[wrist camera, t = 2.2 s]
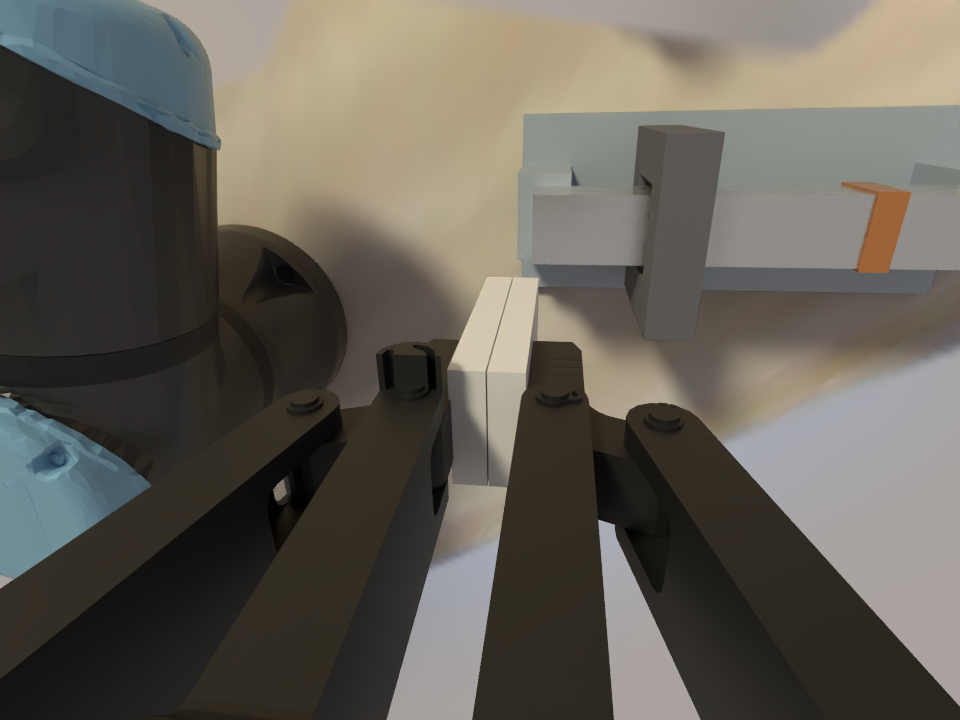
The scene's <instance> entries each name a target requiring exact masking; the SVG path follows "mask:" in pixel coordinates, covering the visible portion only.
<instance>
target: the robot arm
mask: <svg viewBox="0 0 960 720" xmlns="http://www.w3.org/2000/svg"><path fill="white" fill-rule="evenodd" d="M220 147H221V140H220V139H219V137H218V136H217V135H216V127H215V113H214V100H213V87H212V73H211V66H210V61H209V58H208V55H207V53H206V50H205V49H204V47H203V45H202V43H201V42H200V40H199V39H198V38H197V36H196V35H195V34H194V33H193V32H192V31H191V30H190V29H189V28H188V27H187V26H186V25H185V24H183V23H182V22H181V21H179V20H178V19H177V18H175V17H173V16H172V15H170V14H168V13H166V12H164V11H162V10H159V9H157V8H155V7H152V6H150V5H147V4H145V3H143V2H140V1H138V0H0V575H2V576H5V577H8V578H12V579H14V580H13V581H11V582H9V583H8V584H7V585H5V586H4V587H2V588H1V589H0V720H386V719H387V716H388V712H389V709H390V705H391V701H392V698H393V694H394V691H395V687H396V684H397V680H398V677H399V673H400V669H401V666H402V662H403V658H404V655H405V652H406V648H407V644H408V641H409V637H410V633H411V630H412V626H413V623H414V619H415V616H416V612H417V609H418V605H419V601H420V598H421V595H422V591H423V587H424V584H425V580H426V577H427V573H428V570H429V566H430V562H431V559H432V555H433V552H434V548H435V545H436V541H437V538H438V534H439V530H440V527H441V523H442V520H443V516H444V513H445V509H446V505H447V502H448V498H449V496H448V475H449V472H450V469H451V465H452V481H453V484H468V485H483V486H487V485H488V480H489V486H498V487H507V494H506V500H505V507H504V514H503V520H502V527H501V533H500V540H499V547H498V554H497V561H496V567H495V573H494V580H493V587H492V593H491V600H490V606H489V613H488V619H487V626H486V633H485V639H484V646H483V652H482V660H481V666H480V672H479V679H478V686H477V692H476V699H475V705H474V712H473V718H472V720H614V715H613V704H612V690H611V678H610V665H609V652H608V640H607V627H606V615H605V601H604V588H603V576H602V564H601V550H600V538H599V526H598V520H601V521H605V522H608V523H611V524H614V525H615V532H616V537H617V540H618V542H619V544H620V546H621V548H622V550H623V552H624V555H625V557H626V559H627V561H628V563H629V566H630V567H631V570H632V572H633V574H634V576H635V578H636V581H637V583H638V585H639V587H640V589H641V591H642V594H643V596H644V598H645V600H646V602H647V604H648V607H649V609H650V611H651V613H652V615H653V617H654V619H655V622H656V624H657V626H658V628H659V630H660V632H661V635H662V637H663V639H664V641H665V643H666V645H667V648H668V650H669V652H670V654H671V656H672V658H673V661H674V663H675V665H676V667H677V669H678V671H679V674H680V676H681V678H682V680H683V682H684V684H685V687H686V689H687V691H688V693H689V695H690V697H691V700H692V701H693V704H694V706H695V708H696V710H697V712H698V715H699V717H700V719H701V720H960V706H959V705H958V704H957V703H956V702H955V701H954V700H953V699H952V698H951V696H950V695H949V694H948V693H947V692H946V691H945V690H944V689H943V688H942V686H941V685H940V684H939V683H938V682H937V681H936V680H935V679H934V678H933V676H932V675H931V674H930V673H929V672H928V671H927V670H926V669H925V668H924V667H923V665H922V664H921V663H920V662H919V661H918V660H917V659H916V658H915V657H914V656H913V654H912V653H911V652H910V651H909V650H908V649H907V648H906V647H905V646H904V645H903V643H902V642H901V641H900V640H899V639H898V638H897V637H896V636H895V635H894V633H893V632H892V631H891V630H890V629H889V628H888V627H887V626H886V625H885V623H884V622H883V621H882V620H881V619H880V618H879V617H878V616H877V615H876V614H875V612H873V610H872V609H871V608H870V607H869V606H868V605H867V604H866V603H865V601H864V600H863V599H862V598H861V597H860V596H859V595H858V594H857V593H856V592H855V590H854V589H853V588H852V587H851V586H850V585H849V584H848V583H847V582H846V580H845V579H844V578H843V577H842V576H841V575H840V574H839V573H838V572H837V570H836V569H835V568H834V567H833V566H832V565H831V564H830V563H829V562H828V561H827V559H826V558H825V557H824V556H823V555H822V554H821V553H820V552H819V551H818V549H817V548H816V547H815V546H814V545H813V544H812V543H811V542H810V541H809V540H808V539H807V537H806V536H805V535H804V534H803V533H802V532H801V531H800V530H799V529H798V527H797V526H796V525H795V524H794V523H793V522H792V521H791V520H790V519H789V517H788V516H787V515H786V514H785V513H784V512H783V511H782V510H781V509H780V508H779V506H778V505H777V504H776V503H775V502H774V501H773V500H772V499H771V498H770V496H769V495H768V494H767V493H766V492H765V491H764V490H763V489H762V488H761V487H760V485H759V484H758V483H757V482H756V481H755V480H754V479H753V478H752V477H751V476H750V474H749V473H748V472H747V471H746V470H745V469H744V468H743V467H742V466H741V464H740V463H739V462H738V461H737V460H736V459H735V458H734V457H733V456H732V455H731V453H730V452H729V451H728V450H727V449H726V448H725V447H724V446H723V445H722V443H721V442H720V441H719V440H718V439H717V438H716V437H715V436H714V435H713V434H712V432H711V431H710V430H709V429H708V428H707V427H706V426H705V425H704V424H703V422H702V421H701V420H700V419H699V418H698V417H696V416H695V415H694V414H692V413H691V412H690V411H687V410H685V409H682V408H680V407H678V406H676V405H672V404H670V405H668V404H667V403H649V404H643V405H638V406H636V407H634V408H632V409H630V410H629V412H628V414H627V416H626V420H622V419H618V418H614V417H610V416H607V415H604V414H602V413H600V412H598V411H596V410H595V409H593V408H592V407H590V405H589V399H588V397H587V395H586V393H585V391H584V379H583V366H582V353H581V350H580V349H579V348H578V347H577V346H576V345H575V344H574V343H573V342H549V341H537V331H538V290H539V278H523V277H513V281H512V277H487V279H486V281H485V284H484V286H483V288H482V291H481V293H480V295H479V297H478V300H477V302H476V304H475V307H474V309H473V311H472V314H471V316H470V318H469V320H468V323H467V325H466V327H465V330H464V332H463V334H462V337H461V339H460V340H443V339H434V340H432V341H430V342H429V343H419V342H408V343H400V344H395V345H391V346H388V347H386V348H383V349H381V350H380V351H379V352H378V353H376V358H377V368H378V377H379V386H380V391H379V393H378V394H377V396H376V398H375V399H374V401H373V402H372V404H371V405H369V406H363V407H357V408H348V409H340V403H339V398H338V397H337V396H336V395H335V394H334V393H332V392H329V391H326V390H325V389H326V387H327V386H328V385H329V384H330V383H331V381H332V380H333V379H334V377H335V376H336V374H337V373H338V371H339V369H340V367H341V364H342V362H343V359H344V355H345V351H346V343H347V329H346V321H345V316H344V312H343V308H342V305H341V302H340V300H339V297H338V295H337V293H336V291H335V289H334V287H333V285H332V284H331V282H330V281H329V279H328V277H327V276H326V275H325V273H324V272H323V271H322V269H321V268H320V267H319V266H318V265H317V264H316V263H315V262H314V261H313V260H312V258H310V257H309V256H308V255H307V254H306V253H305V252H304V251H302V250H301V249H300V248H299V247H297V246H296V245H294V244H293V243H291V242H290V241H288V240H286V239H285V238H283V237H281V236H279V235H277V234H274V233H272V232H270V231H267V230H264V229H260V228H257V227H252V226H246V225H221V226H218V217H217V150H220ZM282 479H284V483H285V488H286V492H287V494H286V495H285V496H284V497H283V498H282V499H281V500H279V501H276V500H275V497H274V492H273V489H274V488H275V487H276V485H277V484H278V483H279V482H280V481H281V480H282Z"/></svg>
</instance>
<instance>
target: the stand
mask: <svg viewBox="0 0 960 720" xmlns="http://www.w3.org/2000/svg"><path fill="white" fill-rule="evenodd" d="M644 125H685V126H691V127H697V128H703V129H709V130H715V131H721V132H725V138H724V145H723V151H722V158H721V165H720V171H719V178H718V184H717V185H841V183H842V182H874V183H878V184H882V185H960V106H912V107H862V108H812V109H762V110H713V111H663V112H613V113H563V114H524V138H523V167H522V168H521V170H520V172H519V173H518V260H522V277H523V278H539V287H580V288H625V285H624V282H625V271H626V266H624V265H555V264H532V214H533V193H534V190H535V187H536V186H633V183H634V172H635V161H636V150H637V139H638V128H639V126H644ZM936 271H937V270H901V269H889V272H888V273H858V272H856V271H854V270H852V269H832V268H763V267H705V271H704V277H703V284H702V290H733V291H784V292H835V293H886V294H929V292H930V289H931V286H932V283H933V280H934V277H935V274H936Z"/></svg>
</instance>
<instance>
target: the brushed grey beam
mask: <svg viewBox="0 0 960 720" xmlns="http://www.w3.org/2000/svg"><path fill="white" fill-rule="evenodd" d="M651 193H652V186H536V187H535V190H534V193H533V214H532V264H555V265H624V266H644V260H645V250H646V241H647V231H648V222H649V212H650V202H651ZM705 267H763V268H832V269H852V270H854V271H856V272H858V273H888V272H889V269H901V270H960V185H882V184H878V183H874V182H842V183H841V185H717V191H716V198H715V204H714V211H713V218H712V224H711V231H710V237H709V244H708V251H707V257H706V264H705Z"/></svg>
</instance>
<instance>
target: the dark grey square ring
mask: <svg viewBox="0 0 960 720" xmlns="http://www.w3.org/2000/svg"><path fill="white" fill-rule="evenodd" d="M724 138H725V132H721V131H715V130H709V129H703V128H697V127H691V126H685V125H644V126H639V128H638V139H637V150H636V161H635V172H634V183H633V186H652V193H651V202H650V212H649V222H648V231H647V241H646V250H645V260H644V266H626V271H625V282H624V285H625V288H626V291H627V294H628V296H629V299H630V302H631V305H632V308H633V311H634V313H635V316H636V319H637V322H638V325H639V328H640V331H641V333H642V336H643V339H644V340H655V341H687V342H694V337H695V330H696V324H697V317H698V310H699V304H700V297H701V291H702V284H703V277H704V271H705V264H706V257H707V251H708V244H709V237H710V231H711V224H712V218H713V211H714V204H715V198H716V191H717V184H718V178H719V171H720V165H721V158H722V151H723V145H724Z"/></svg>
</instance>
